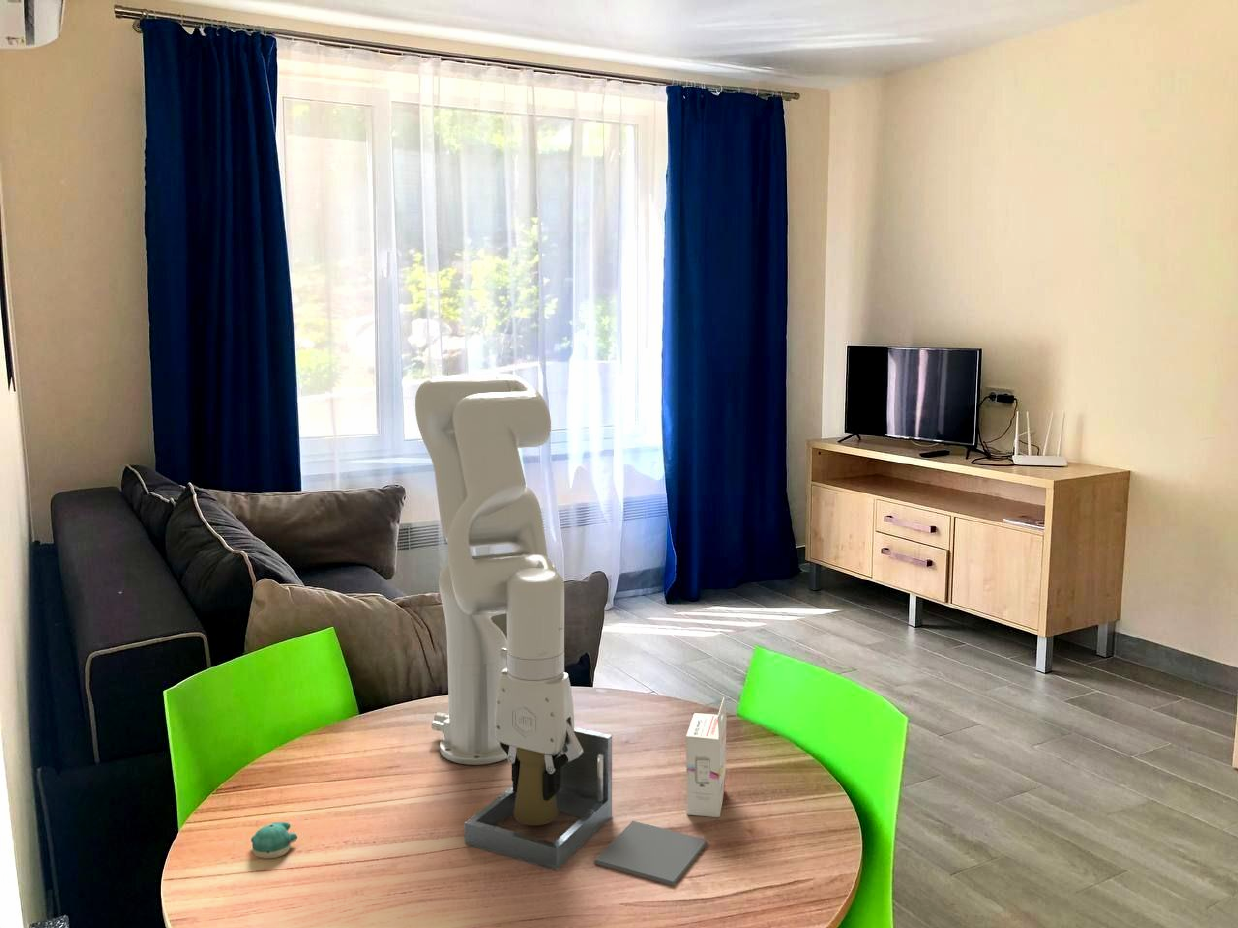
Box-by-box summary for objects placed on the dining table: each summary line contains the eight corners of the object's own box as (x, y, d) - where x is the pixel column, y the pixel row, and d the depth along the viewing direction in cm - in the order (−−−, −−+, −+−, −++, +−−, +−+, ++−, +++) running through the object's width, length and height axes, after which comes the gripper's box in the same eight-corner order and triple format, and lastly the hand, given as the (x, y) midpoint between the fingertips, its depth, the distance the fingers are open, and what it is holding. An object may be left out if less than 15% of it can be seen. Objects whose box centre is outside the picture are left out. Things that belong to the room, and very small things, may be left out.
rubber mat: (594, 863, 128) (594, 859, 128) (632, 824, 137) (632, 820, 137) (673, 885, 123) (673, 881, 123) (707, 843, 133) (707, 839, 132)
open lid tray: (465, 843, 132) (463, 757, 131) (526, 794, 146) (525, 716, 144) (556, 870, 126) (555, 780, 124) (612, 816, 140) (612, 734, 138)
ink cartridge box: (692, 786, 148) (693, 691, 146) (725, 789, 147) (727, 694, 145) (684, 815, 140) (685, 714, 138) (719, 818, 139) (721, 717, 137)
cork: (565, 806, 138) (565, 731, 136) (547, 828, 132) (547, 750, 130) (524, 798, 140) (524, 724, 138) (506, 820, 134) (505, 743, 132)
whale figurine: (244, 863, 128) (242, 835, 128) (259, 833, 135) (258, 807, 135) (290, 861, 129) (289, 833, 128) (303, 832, 136) (302, 805, 135)
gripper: (466, 661, 133) (468, 789, 136) (577, 684, 125) (576, 820, 128) (498, 643, 139) (499, 766, 142) (605, 665, 132) (603, 794, 135)
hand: (535, 790), depth 135 cm, fingers closed on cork, 4 cm apart
